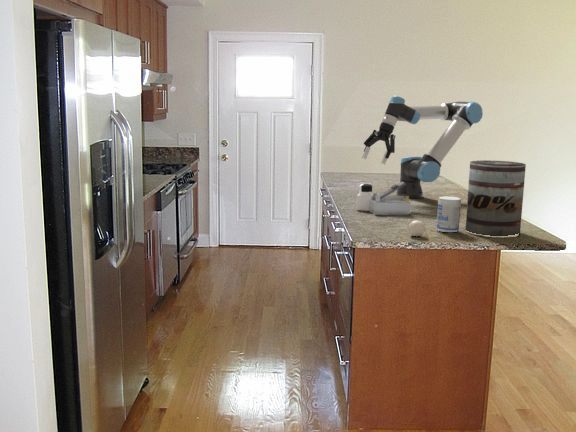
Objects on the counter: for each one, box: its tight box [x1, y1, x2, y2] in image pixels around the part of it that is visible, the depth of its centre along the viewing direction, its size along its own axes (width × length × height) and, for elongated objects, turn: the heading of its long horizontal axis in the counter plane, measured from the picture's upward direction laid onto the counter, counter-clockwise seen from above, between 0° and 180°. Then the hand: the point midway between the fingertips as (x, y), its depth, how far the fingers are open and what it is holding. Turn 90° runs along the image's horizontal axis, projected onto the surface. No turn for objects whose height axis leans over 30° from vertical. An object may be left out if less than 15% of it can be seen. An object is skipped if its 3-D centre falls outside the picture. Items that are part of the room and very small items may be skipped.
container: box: [355, 183, 373, 212], centre depth 330 cm, size 8×8×13 cm
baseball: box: [408, 219, 426, 237], centre depth 268 cm, size 7×7×7 cm
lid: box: [375, 182, 406, 199], centre depth 320 cm, size 16×4×2 cm, turn 97°
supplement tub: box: [435, 195, 462, 233], centre depth 278 cm, size 10×10×15 cm
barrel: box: [465, 159, 527, 236], centre depth 277 cm, size 22×22×30 cm
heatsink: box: [368, 192, 411, 216], centre depth 321 cm, size 18×10×10 cm, turn 97°
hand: (373, 161), depth 347 cm, fingers open, 13 cm apart
